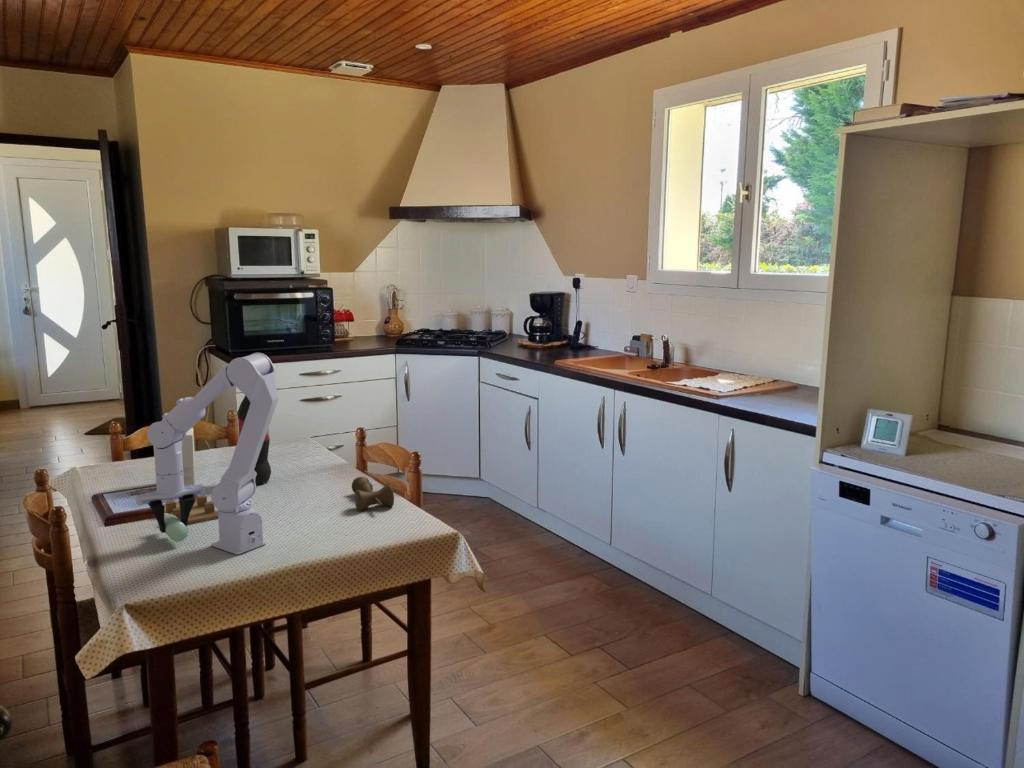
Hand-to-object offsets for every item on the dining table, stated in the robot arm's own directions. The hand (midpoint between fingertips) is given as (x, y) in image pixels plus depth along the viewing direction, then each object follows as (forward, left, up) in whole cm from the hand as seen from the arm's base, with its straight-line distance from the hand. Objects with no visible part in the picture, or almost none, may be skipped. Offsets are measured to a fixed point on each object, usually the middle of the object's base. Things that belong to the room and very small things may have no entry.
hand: (173, 529), depth 171 cm
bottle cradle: (+14, -13, -3) cm, 19 cm away
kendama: (-18, -45, -3) cm, 49 cm away
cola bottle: (+22, -40, -3) cm, 45 cm away
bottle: (+1, 0, -2) cm, 2 cm away
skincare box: (+37, -27, -3) cm, 45 cm away
